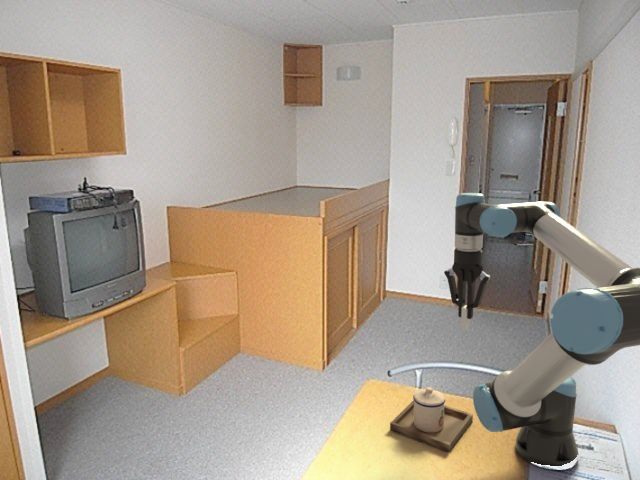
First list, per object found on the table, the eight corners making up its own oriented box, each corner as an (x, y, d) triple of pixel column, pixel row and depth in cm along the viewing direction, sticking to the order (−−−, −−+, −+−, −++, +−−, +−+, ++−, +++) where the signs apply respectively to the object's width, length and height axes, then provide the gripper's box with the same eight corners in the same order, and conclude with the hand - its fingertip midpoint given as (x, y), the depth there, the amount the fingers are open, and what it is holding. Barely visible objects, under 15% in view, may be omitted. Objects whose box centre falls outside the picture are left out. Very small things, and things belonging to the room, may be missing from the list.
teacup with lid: (445, 435, 136) (447, 397, 134) (413, 432, 137) (413, 395, 135) (442, 411, 147) (443, 376, 145) (411, 410, 149) (412, 375, 147)
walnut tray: (472, 421, 144) (472, 414, 143) (449, 453, 130) (449, 444, 129) (417, 403, 154) (417, 396, 154) (390, 430, 140) (390, 423, 140)
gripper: (440, 248, 135) (438, 327, 140) (487, 254, 127) (483, 337, 132) (451, 243, 141) (448, 319, 146) (496, 248, 133) (492, 328, 138)
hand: (465, 328), depth 139 cm, fingers closed
